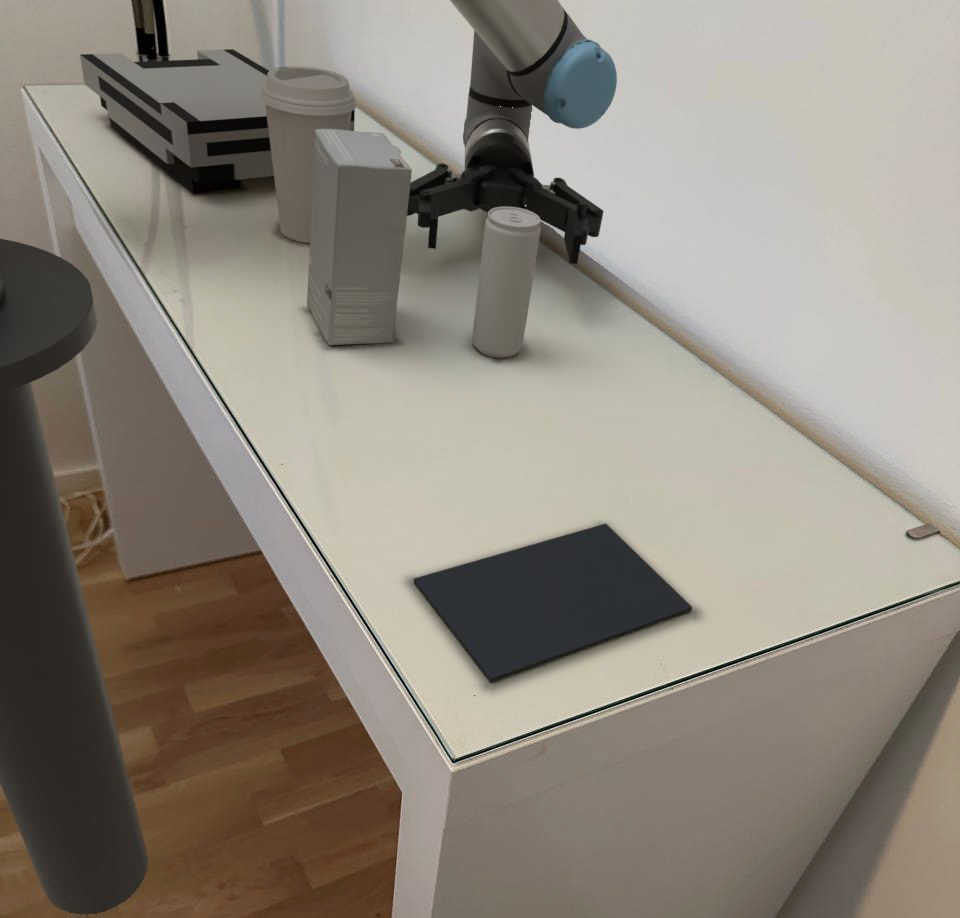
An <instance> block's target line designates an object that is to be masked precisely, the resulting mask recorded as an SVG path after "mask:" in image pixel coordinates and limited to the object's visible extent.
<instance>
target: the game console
mask: <svg viewBox="0 0 960 918" xmlns="http://www.w3.org/2000/svg"><path fill="white" fill-rule="evenodd" d="M196 56H197V59H196V58H195V59H175V60H170V59H169V60H149V61H133V60H131V59H130V58H128V57H127V56H126V55H124V54H123V53H121V52H114V53H113V52H111V53H84V54H82V53H81V54H79V58H80V63H81V69H82V75H83V82H84V85H85V86H86V87H87V88H88V89H90V90H91V91H93V92H94V93H95V94H96V95H98V96H99V99H100V106H101V107H102V108H103V109H104V110H106V111H107V117H108V118H109V123H110V128H111V129H112V130H114V131H115V132H116V133H117V134H119V135H120V136H121V137H122V138H123V139H124V140H126V141H127V142H128V143H130V144H131V145H132V146H133V147H134V148H136V149H137V150H138V151H140V153H142V154H143V155H144V156H145V157H147V158H148V159H149V160H150V161H152V162H153V163H154V164H155V165H157V166H158V167H159V168H160V169H161V170H163V171H164V172H165V173H166V174H168V176H170V177H171V178H173V179H174V180H175V181H176V182H177V183H179V184H180V185H181V186H182V187H183V188H184V189H186V190H187V191H188V192H190V193H191V194H192V195H198V194H199V195H200V194H208V193H217V192H224V191H225V192H226V191H227V192H228V191H234V190H235V191H236V190H241V189H242V180H248V179H256V178H264V177H266V178H267V177H274V171H273V163H272V155H271V146H270V138H269V130H268V122H267V114H266V107H265V103H263V102H262V101H261V99H260V93H261V89H262V86H263V84H264V83H265V82H266V79H267V74H268V72H269V71H270V70H269V69H267V68H265V67H264V66H262V65H261V64H259V63H257V62H255V61H254V60H252V59H250V58H249V57H247V56H245V55H243V54H242V53H240V52H239V51H237V50H236V49H233V48H232V49H231V48H228V49H226V48H225V49H200V50H196ZM355 110H356V109H354V110H353V111H351V121H350V131H355V114H356V113H355Z"/></svg>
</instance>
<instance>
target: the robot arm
mask: <svg viewBox="0 0 960 918" xmlns="http://www.w3.org/2000/svg"><path fill="white" fill-rule="evenodd" d="M449 1H450V3H451V4H452V5H453V6H454V7H455V9H456V10H457V12H459V14H460V15H461V16H462V17H463V19H464V20H465V21H466V22H467V23H468V24H469V25H470V27H471V28H472V29H473V41H472V42H473V43H472V56H471V68H470V69H471V70H470V82H469V90H468V96H467V107H466V115H465V119H464V122H463V133H462V142H463V146H464V170H463V171H462V173H461V174H458V173H453V170H452V169H450V168H449V165H448V164H447V163H443V162H442V163H438V164H437V165H436V167H435V169H433V170H432V171H430V172H428V173H425V175H422V176H420V177H418V178H417V179H414V180H413V181H411V183H410V192H409V201H408V209H407V217H410V216H413V215H414V214H417V226H418V227H419V228H422V229H426V228H427V229H428V238H427V239H428V241H427V248H428V249H433V250H436V249H437V238H438V226H439V218H440V217H443V216H447V215H449V214H452V213H455V212H459V211H462V210H466V211H468V212H473V211H477V210H482V211H483V212H485V213H487V214H488V212H489V211H490V210H491V209H493V208H496V207H517V208H522V209H526V210H528V211H531V212H533V213H535V214H537V215H538V216H539V217H540V219H541V222H544V223H546V224H548V225H550V226H551V227H554V228H556V229H557V230H559V231H561V232H563V233H564V235H563V240H564V245H565V249H566V253H567V259H568V264H570V265H571V264H572V265H578V262H579V257H580V253H581V247H582V246H586V245H587V241H588V237H591V238H598V237H599V236H600V231H601V226H602V222H603V218H604V217H603V216H604V210H603V209H602V208H600V207H599V206H598V205H596V204H595V203H593V202H592V201H591V200H589V199H587V197H585V196H583V195H582V194H580V193H578V191H576V190H575V189H574V188H571V187H570V186H569V185H568V184H567V182H566V180H565V179H564V178H561V177H554V178H553V181H551V182H550V183H549V184H542V183H541V182H540V180H539V179H537V178H536V177H535V173H534V167H533V160H532V159H533V158H532V154H531V149H530V143H529V137H530V129H529V128H531V122H530V120H531V121H532V115H531V112H532V113H533V107H534V108H536V109H537V110H539V111H540V112H542V113H543V114H545V115H546V116H547V117H548V118H549V120H551V121H552V122H554V123H556V124H561V125H563V126H565V127H567V128H569V129H575V130H578V129H579V130H580V129H586V128H588V127H590V126H593V125H594V124H595V123H597V122H598V121H599V120H601V118H602V117H603V116H604V115H605V114H606V112H607V111H608V109H609V108H610V106H611V105H612V102H613V100H614V98H615V95H616V90H617V84H618V74H617V68H616V65H615V62H614V59H613V57H612V56H611V55H610V54H609V53H608V51H606V50H605V49H604V48H603V47H601V45H600V44H599V43H598V42H596V41H594V40H593V39H588V38H587V37H586V36H585V35H584V34H583V33H582V31H581V29H580V28H579V27H578V26H577V25H576V23H575V22H574V20H573V19H572V17H571V16H570V14H569V13H568V12H567V11H566V10H565V8H564V7H563V5H562V3H561V2H560V1H559V0H449ZM532 105H533V107H532ZM500 106H501V107H500ZM512 107H513V108H512ZM5 296H6V295H5V289H4V285H3V281H2V277H1V275H0V307H1V306H2V305H3V303H4V300H5Z"/></svg>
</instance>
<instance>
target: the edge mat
mask: <svg viewBox="0 0 960 918" xmlns="http://www.w3.org/2000/svg"><path fill="white" fill-rule="evenodd" d="M413 584H414V586H415V587H416V588H417V589H418V591H419V593H421V595H422V596H423V597H424V598H425V600H426V601H427V603H428V604H429V605H430V606H431V607H432V609H433V610H434V611H435V613H436V614H437V615H438V617H439V618H440V619H441V620H442V622H443V624H444V625H445V626H446V627H447V628H448V630H449V631H450V632H451V634H452V635H453V637H454V638H455V639H456V640H457V642H458V643H459V644H460V646H461V647H462V648H463V649H464V651H465V652H466V653H467V654H468V656H469V657H470V658H471V660H472V661H473V662H474V663H475V665H476V666H477V667H478V668H479V670H480V671H481V673H482V674H483V675H484V676H485V678H486V680H487V681H488V682H489V683H490V684H491V683H494V682H496V681H500V680H502V679H505V678H508V677H511V676H514V675H516V674H520V673H522V672H526V671H528V670H530V669H534V668H536V667H539V666H542V665H544V664H547V663H550V662H553V661H556V660H558V659H561V658H565V657H567V656H570V655H573V654H576V653H578V652H580V651H584V650H587V649H590V648H593V647H595V646H598V645H601V644H603V643H606V642H609V641H612V640H614V639H615V640H616V639H617V638H621V637H623V636H626V635H628V634H632V633H635V632H636V631H637V632H638V631H639V630H642V629H645V628H648V627H651V626H654V625H657V624H659V623H662V622H665V621H668V620H670V619H674V618H676V617H678V616H681V615H685V614H688V613H690V612H692V609H693V606H692V605H691V604H690V603H689V602H687V600H686V599H685V598H684V597H682V596H681V594H680V593H678V592H677V591H676V590H675V588H673V587H672V585H670V583H668V582H667V581H666V580H665V579H664V578H663V577H662V576H661V575H660V574H659V573H658V572H656V570H654V568H652V566H651V565H650V564H648V562H646V561H645V560H644V558H642V557H641V556H640V554H638V553H637V552H636V551H635V550H634V549H633V548H632V547H631V546H630V545H629V544H628V543H627V542H626V541H625V540H624V539H623V538H622V537H621V536H619V534H617V533H616V532H615V531H614V530H613V529H612V528H611V527H610V526H609V525H608V524H607V523H603V524H598V525H596V526H592V527H588V528H585V529H582V530H578V531H575V532H571V533H567V534H565V535H559V536H558V537H554V538H551V539H547V540H543V541H540V542H537V543H533V544H529V545H525V546H522V547H520V548H516V549H512V550H508V551H505V552H502V553H498V554H494V555H490V556H487V557H483V558H480V559H477V560H474V561H471V562H466V563H462V564H460V565H456V566H452V567H450V568H446V569H442V570H439V571H435V572H432V573H429V574H425V575H420V576H418V577H414V578H413Z"/></svg>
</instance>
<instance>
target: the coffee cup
mask: <svg viewBox="0 0 960 918" xmlns="http://www.w3.org/2000/svg"><path fill="white" fill-rule="evenodd" d="M350 87H351V86H350V83H349V79H348V78H347V77H346V76H344V75H343V74H340V73H338V72H335V71H332V70H329V69H324V68H319V67H312V66H295V65H294V66H293V65H292V66H291V65H289V66H280V67H275V68H271V69H270V70H269V72H268V74H267V79H266V82H265V83H264V84H263V86H262V89H261V93H260V99H261V101H262V102H263V103H265V107H266V114H267V122H268V130H269V138H270V146H271V155H272V163H273V171H274V176H273V180H274V187H275V195H276V204H277V213H278V220H279V222H278V223H279V229H280V233H281V234H282V236H284V237H286V238H287V239H289V240H292V241H295V242H299V243H304V244H310V231H311V211H312V189H313V167H314V144H315V130H316V129H337V130H347V131H350V121H351V111H353V110H356V108H357V102H356V97H355V95H354V92H353V91H352V89H351V88H350Z"/></svg>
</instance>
